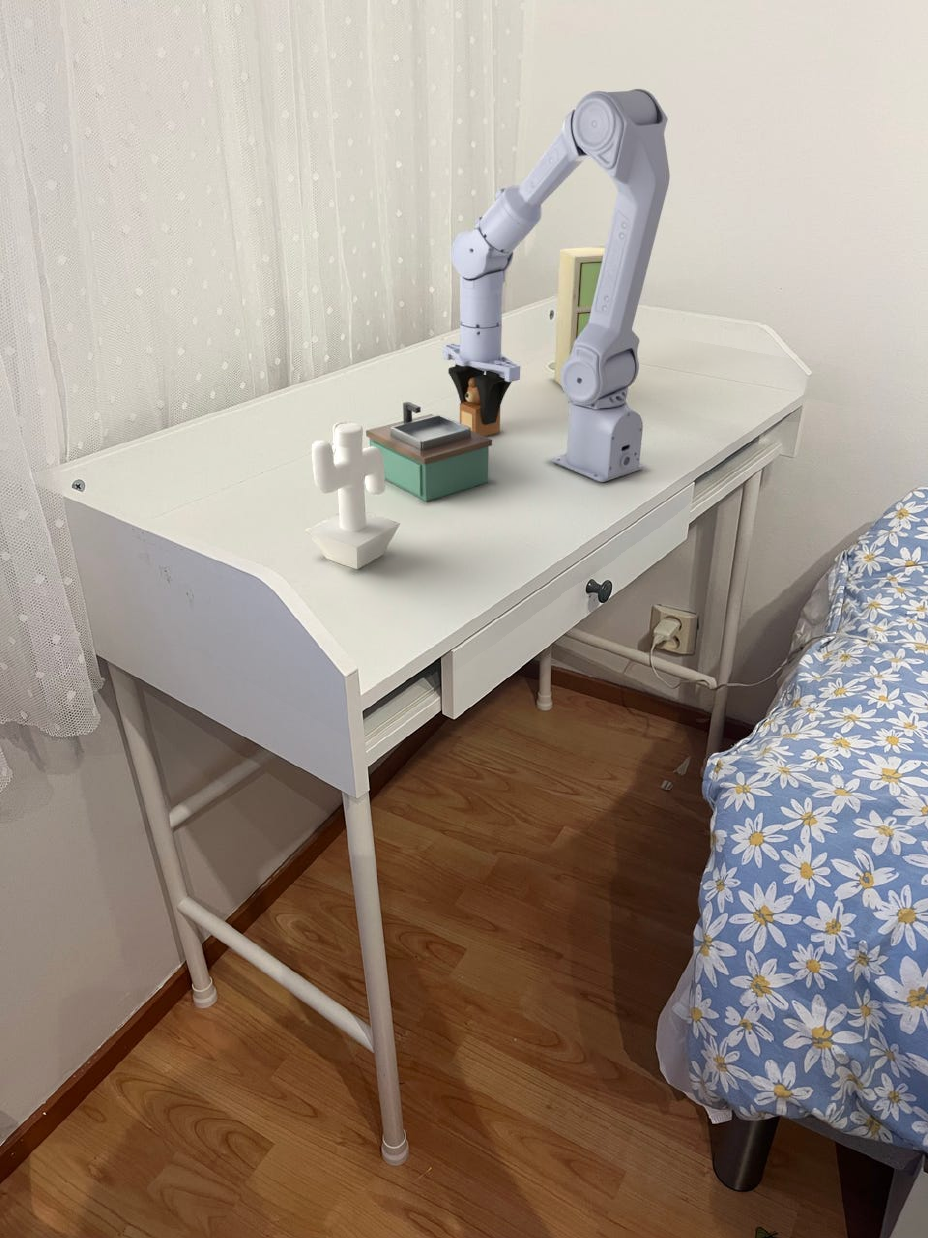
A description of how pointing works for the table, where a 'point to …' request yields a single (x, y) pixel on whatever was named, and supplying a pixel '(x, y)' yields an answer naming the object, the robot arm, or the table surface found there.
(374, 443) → the toy sink
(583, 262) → the toy refrigerator
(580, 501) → the table surface
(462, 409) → the toy bear
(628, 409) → the robot arm
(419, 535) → the table surface
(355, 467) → the figurine
